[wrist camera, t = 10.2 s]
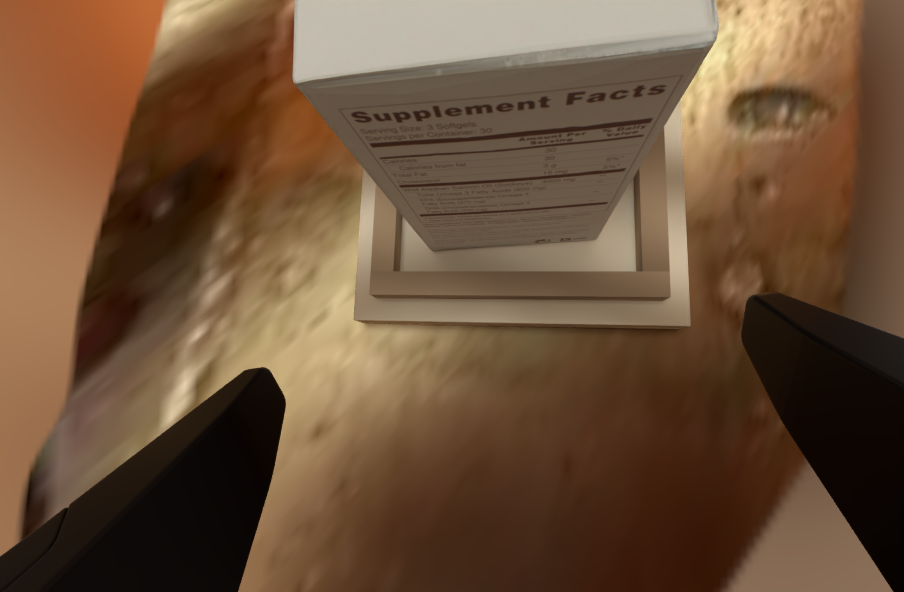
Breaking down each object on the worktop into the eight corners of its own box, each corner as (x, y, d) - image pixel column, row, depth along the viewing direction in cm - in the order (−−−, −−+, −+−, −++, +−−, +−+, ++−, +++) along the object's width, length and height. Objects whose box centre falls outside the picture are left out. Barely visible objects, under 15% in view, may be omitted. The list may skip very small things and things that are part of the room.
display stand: (678, 329, 20) (699, 323, 17) (364, 323, 22) (344, 317, 19) (665, 34, 22) (683, -8, 19) (381, 55, 24) (364, 19, 21)
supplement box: (425, 101, 21) (293, -258, 9) (589, 85, 20) (692, -351, 8) (426, 256, 20) (276, 83, 8) (600, 247, 19) (740, 31, 7)
